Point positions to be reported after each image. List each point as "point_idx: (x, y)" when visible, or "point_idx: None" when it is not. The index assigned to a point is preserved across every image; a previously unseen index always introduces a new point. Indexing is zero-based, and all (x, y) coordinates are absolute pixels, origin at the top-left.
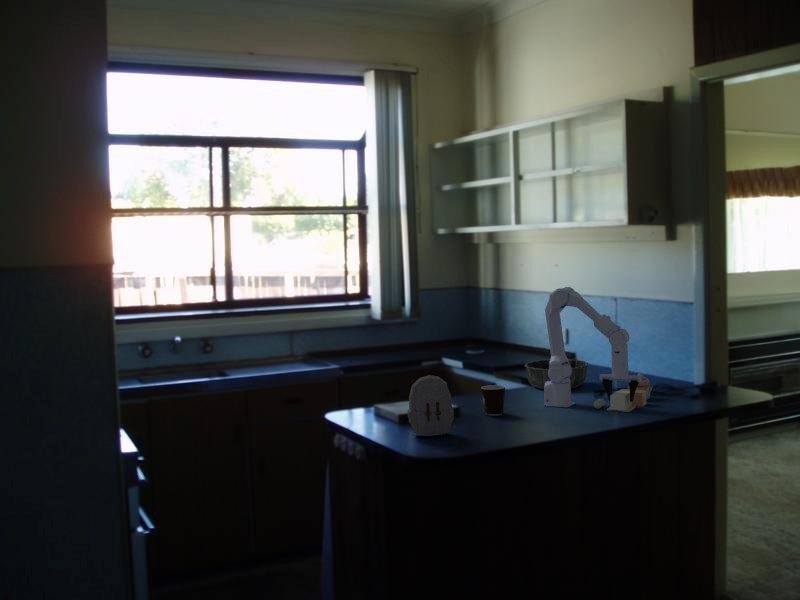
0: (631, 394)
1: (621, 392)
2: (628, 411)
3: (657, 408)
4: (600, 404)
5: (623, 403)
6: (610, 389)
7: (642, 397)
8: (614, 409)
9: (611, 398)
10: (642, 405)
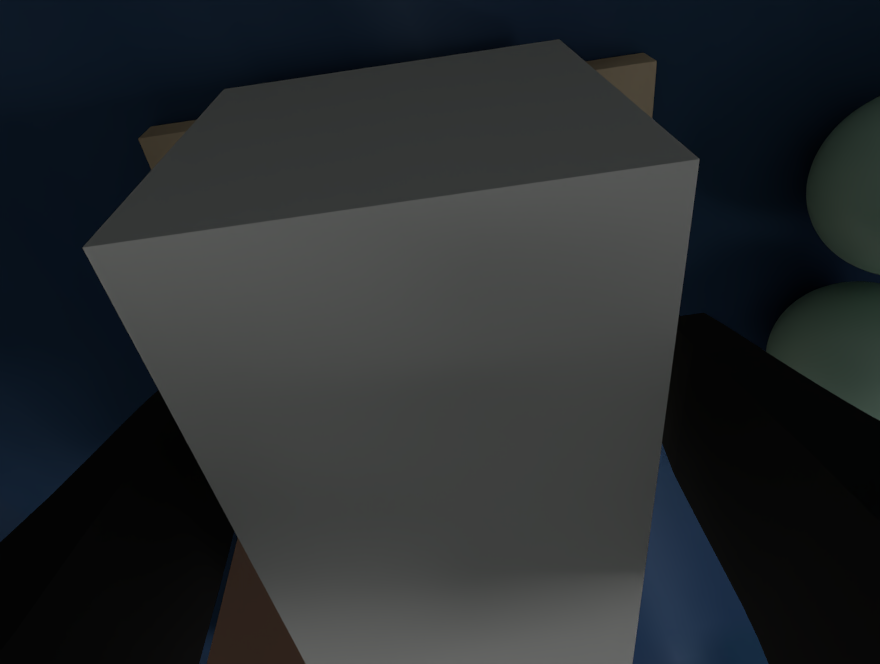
0: (50, 522)
1: (492, 624)
2: (166, 125)
3: (5, 523)
4: (860, 152)
5: (203, 138)
6: (808, 599)
7: (211, 661)
8: (465, 55)
9: (604, 124)
10: (241, 545)
